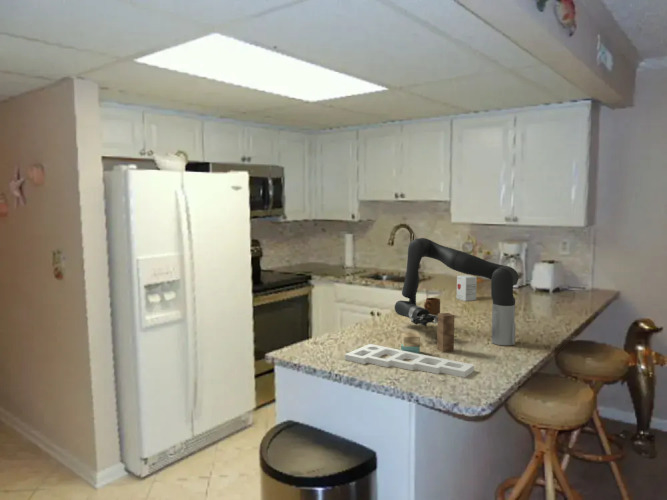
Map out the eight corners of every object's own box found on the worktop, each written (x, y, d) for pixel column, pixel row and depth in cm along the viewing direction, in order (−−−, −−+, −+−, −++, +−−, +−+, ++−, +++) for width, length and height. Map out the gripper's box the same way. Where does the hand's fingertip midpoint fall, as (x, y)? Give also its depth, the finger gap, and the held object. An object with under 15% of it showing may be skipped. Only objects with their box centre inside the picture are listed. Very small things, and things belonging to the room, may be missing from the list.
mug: (431, 320, 256) (431, 302, 255) (418, 317, 261) (418, 300, 260) (442, 316, 265) (442, 298, 264) (430, 313, 270) (430, 297, 269)
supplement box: (455, 298, 313) (456, 275, 311) (467, 297, 316) (467, 274, 315) (465, 301, 305) (465, 277, 303) (476, 300, 308) (477, 276, 307)
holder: (474, 372, 178) (474, 364, 178) (454, 386, 164) (454, 378, 163) (369, 350, 205) (369, 343, 205) (344, 361, 191) (344, 354, 190)
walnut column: (447, 347, 206) (448, 312, 205) (453, 351, 201) (454, 315, 200) (437, 348, 205) (437, 313, 203) (442, 352, 200) (443, 316, 199)
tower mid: (417, 342, 201) (417, 332, 201) (420, 346, 195) (420, 336, 195) (401, 342, 201) (401, 332, 201) (403, 346, 195) (404, 336, 195)
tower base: (419, 351, 201) (419, 342, 201) (418, 357, 194) (418, 347, 194) (402, 350, 203) (402, 341, 202) (401, 355, 196) (401, 346, 196)
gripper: (405, 308, 225) (420, 315, 209) (433, 306, 229) (450, 313, 213) (405, 324, 226) (419, 332, 210) (433, 322, 229) (450, 330, 214)
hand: (435, 323), depth 211 cm, fingers open, 8 cm apart
